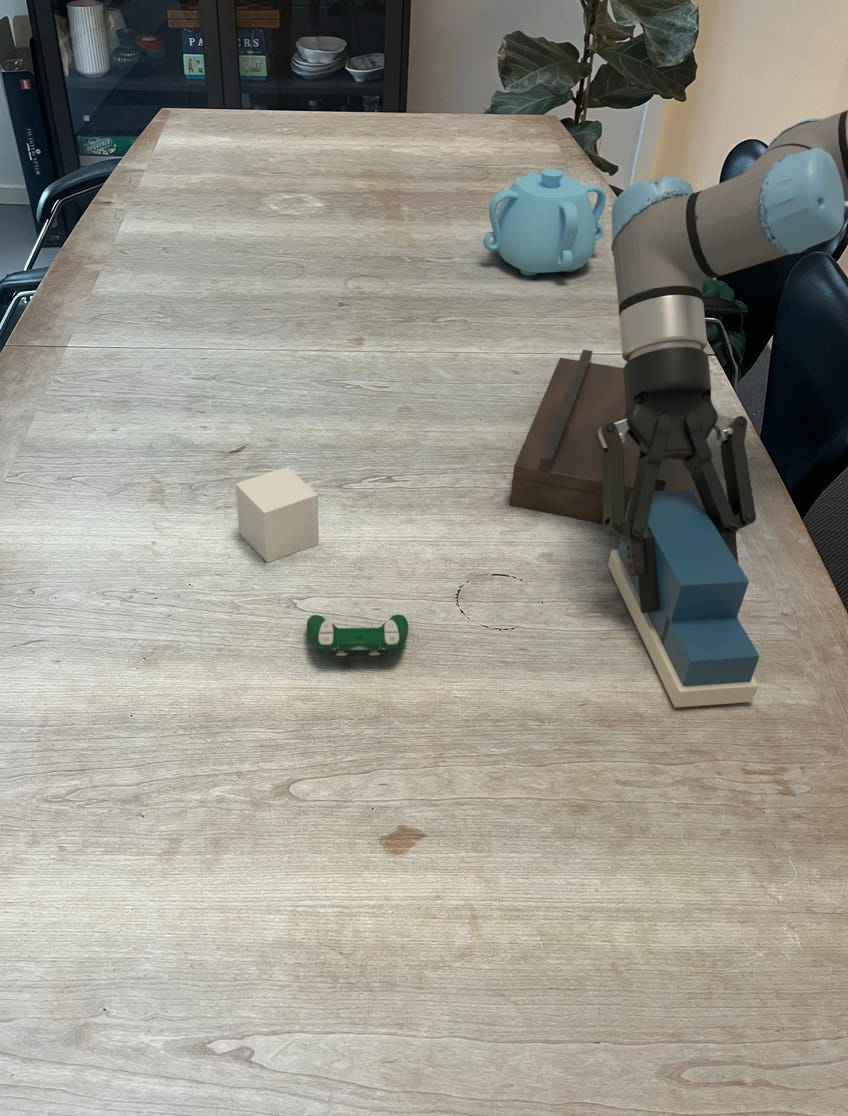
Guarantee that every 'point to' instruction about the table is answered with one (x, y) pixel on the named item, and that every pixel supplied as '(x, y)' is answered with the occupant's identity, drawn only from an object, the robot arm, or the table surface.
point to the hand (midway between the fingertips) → (686, 608)
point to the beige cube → (277, 514)
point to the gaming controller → (357, 636)
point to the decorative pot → (545, 223)
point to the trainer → (692, 606)
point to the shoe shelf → (579, 444)
